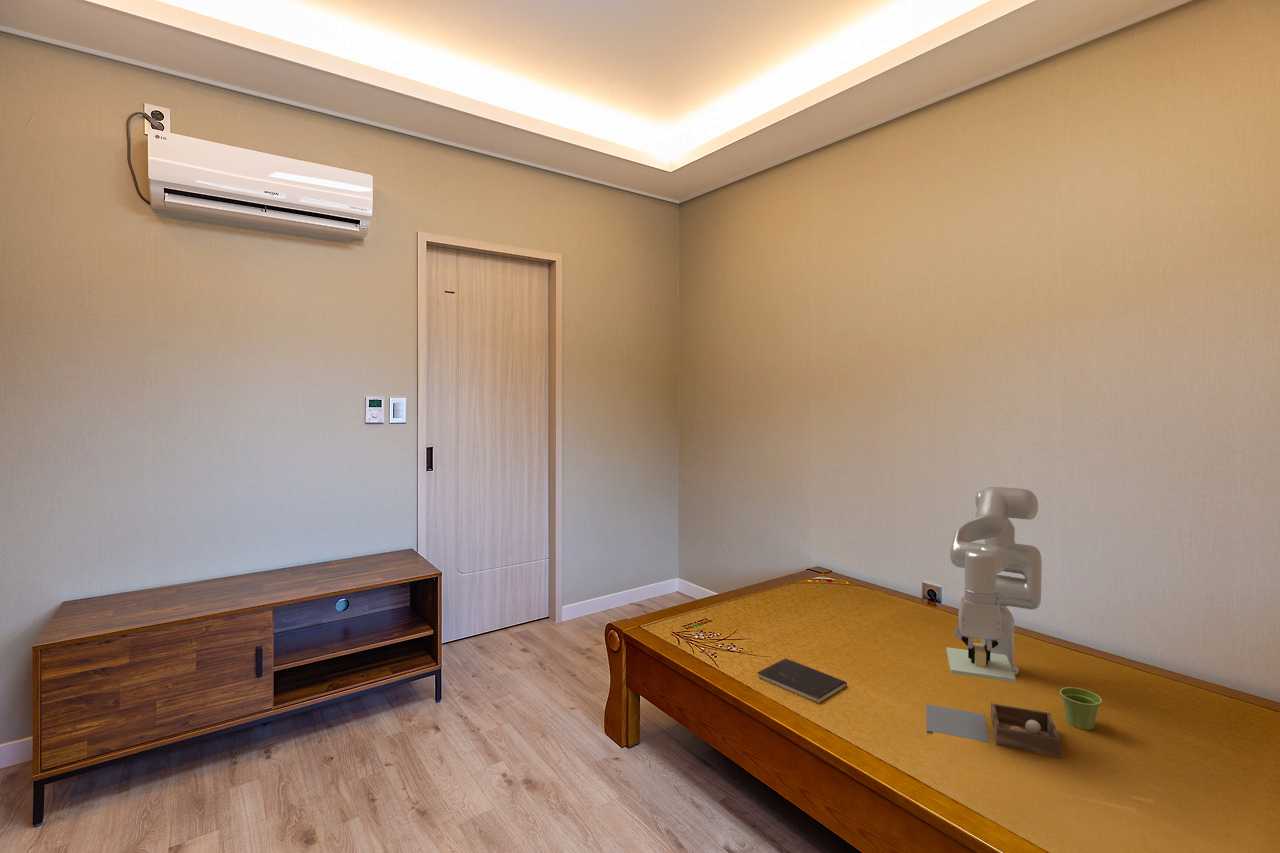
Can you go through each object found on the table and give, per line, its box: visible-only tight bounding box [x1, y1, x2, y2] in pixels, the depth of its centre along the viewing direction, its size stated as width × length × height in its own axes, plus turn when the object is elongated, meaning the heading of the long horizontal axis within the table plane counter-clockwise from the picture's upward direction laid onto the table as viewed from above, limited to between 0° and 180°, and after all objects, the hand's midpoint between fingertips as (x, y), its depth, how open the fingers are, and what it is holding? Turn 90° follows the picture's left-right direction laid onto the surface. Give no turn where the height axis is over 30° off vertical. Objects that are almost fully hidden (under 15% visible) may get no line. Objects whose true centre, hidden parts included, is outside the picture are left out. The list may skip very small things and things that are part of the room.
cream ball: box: [1025, 720, 1041, 734], centre depth 165 cm, size 4×4×4 cm
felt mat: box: [925, 703, 990, 744], centre depth 171 cm, size 15×15×1 cm
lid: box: [946, 642, 1017, 683], centre depth 167 cm, size 15×15×5 cm
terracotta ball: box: [1009, 726, 1024, 732], centre depth 162 cm, size 4×4×4 cm
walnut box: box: [990, 702, 1062, 758], centre depth 164 cm, size 14×14×5 cm
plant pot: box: [1059, 686, 1103, 731], centre depth 169 cm, size 9×9×9 cm
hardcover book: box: [756, 658, 848, 704], centre depth 198 cm, size 16×23×2 cm
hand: (979, 661), depth 168 cm, fingers closed on lid, 2 cm apart
